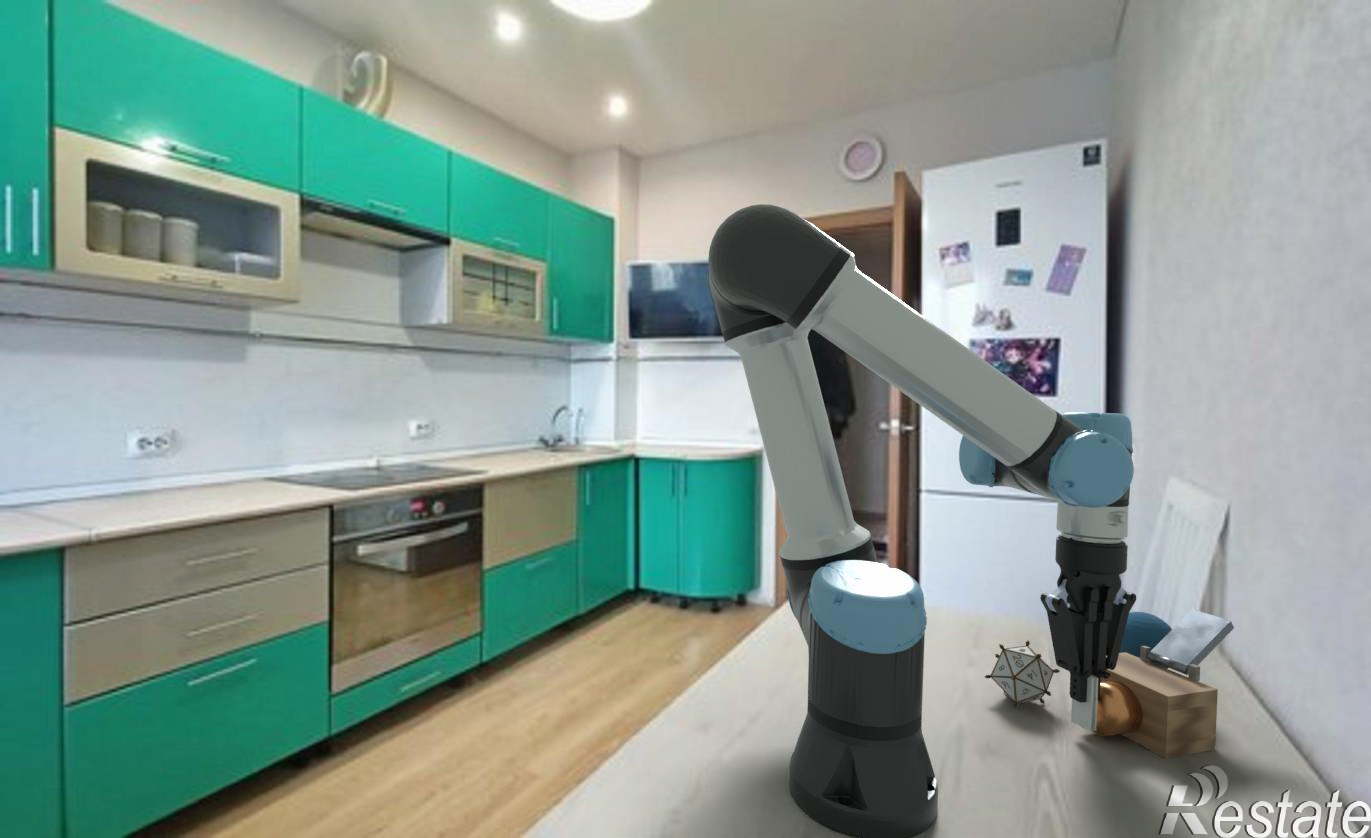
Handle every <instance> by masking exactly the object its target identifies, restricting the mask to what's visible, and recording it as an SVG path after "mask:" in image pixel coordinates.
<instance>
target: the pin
mask: <svg viewBox="0 0 1371 838" xmlns="http://www.w3.org/2000/svg"><path fill="white" fill-rule="evenodd" d="M1142 720H1143V713H1142V708H1141V705H1140V702H1139V700H1138V699H1137V697H1136V695H1135V694H1134V693H1133V692H1132V690H1131V689H1130V688H1128V687H1127V686H1126V685H1124V684H1122V683H1120V682H1117V681H1106V682H1101V683H1100V697H1099V700H1097V720H1096V731H1091V732H1092V733H1094V734H1096V735H1097V736H1101V737H1109V736H1115V735H1122V733H1128V732H1133V731H1136V730H1137V729H1138V728H1139V727H1140V726H1141V724H1142Z"/></svg>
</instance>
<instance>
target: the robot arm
mask: <svg viewBox="0 0 1371 838" xmlns="http://www.w3.org/2000/svg"><path fill="white" fill-rule="evenodd" d="M709 245H710V246H709V249H708V258H707V259H708V269H707V273H706V281H707V282H706V283H707V290H708V294H709V297H710V299H711V300H710V301H711V302H712V304H713V306H714V308H715V310H716V314H717V317H718V321H719V324H720V325H719V326H720V330H721V333H722V336H723V341H724V343H725V346H726V347H727V348H729V349H731V350H732V351H734V352H736V353H737V354H738V355H739V356H740V358H741V363H742V366H743V370H744V374H745V377H746V382H747V385H748V390H749V393H750V397H751V401H752V405H753V409H754V413H755V416H756V420H757V424H758V428H759V431H760V436H761V440H762V443H763V448H764V451H765V454H766V459H767V463H768V467H769V470H770V475H771V477H772V481H773V482H772V483H773V486H774V490H775V493H776V498H777V502H778V505H779V510H780V512H781V516H782V520H783V521H782V522H783V525H784V528H785V532H786V539H785V541H783V543H782V546H781V547H780V549H779V551H778V553H779V557H780V561H781V566H782V569H783V572H784V577H785V580H786V587H787V593H786V595H787V600H788V603H789V607H790V610H791V612H792V613H793V616H794V617H795V619H796V621H797V623H798V625H799V628H800V630H801V632H802V635H803V638H804V640H805V641H806V644H807V647H808V648H807V649H808V666H807V667H808V673H807V675H808V676H807V677H808V678H807V682H808V683H807V708H806V709H807V713H806V716H805V719H804V721H803V724H802V726H801V730H800V732H799V736H798V738H797V740H796V744H795V748H794V750H793V752H792V755H791V757H790V761H789V772H788V776H789V778H788V779H789V780H788V786H789V790H790V794H791V796H792V798H793V799H794V801H795V803H796V804H797V806H799V807H800V809H802V811H804V812H805V813H806V814H808V816H810V817H811V818H812V819H814V820H815V821H817V822H819V823H821V825H822V824H823V825H824V826H826V827H828V828H830V829H833V830H836V831H838V832H839V833H840V832H841V833H844V834H846V835H850V836H854V837H859V838H909V837H913V836H915V835H918V834H920V833H922V832H924V831H925V830H926V829H928V828H929V827H930V826H932V824H933V823H934V822H935V820H936V818H937V815H938V808H939V807H938V803H939V801H938V800H939V799H938V798H939V789H938V787H939V786H938V783H937V778H936V775H935V771H934V768H933V765H932V762H931V759H930V755H929V750H928V748H927V744H926V742H925V737H924V734H923V730H922V722H923V717H922V716H923V712H922V711H923V691H924V665H925V664H924V663H925V662H924V661H925V638H926V637H925V635H926V633H925V632H926V628H927V627H926V626H927V622H928V621H927V618H928V617H927V612H926V611H927V610H926V608H925V597H924V591H923V589H922V587H921V586H920V584H919V582H917V580H916V579H915V578H913V577H912V576H911V575H909V573H906V572H905V571H903V570H901V569H899V568H892V567H890V566H889V565H887V564H884V563H882V562H881V563H880V562H878V559H877V554H876V551H875V546H874V543H873V539H872V536H871V533H870V532H871V531H870V530H868V529H867V528H865V527H864V526H861V525H860V524H859V523H857V522H856V521H855V520H854V515H853V511H852V507H851V503H850V499H849V495H848V492H847V488H846V484H845V481H844V477H843V476H844V475H843V472H842V469H841V464H840V461H839V457H838V452H837V449H836V445H835V440H834V437H833V434H832V429H831V425H830V421H829V417H828V413H827V409H826V406H825V403H824V399H823V395H822V390H821V387H820V383H819V378H818V374H817V370H816V366H815V363H814V359H813V356H812V355H813V354H812V351H811V348H810V343H809V339H808V337H809V333H810V331H811V330H813V331H815V332H816V333H817V334H819V335H821V337H823V338H825V339H826V340H827V341H829V342H831V343H832V344H833V345H834V346H836V347H837V348H839V349H840V350H842V351H843V352H845V354H848V356H850V357H852V358H853V359H854V360H856V361H857V362H859V363H860V364H862V365H863V366H864V367H866V368H867V369H869V370H870V371H871V372H873V373H874V374H876V375H877V376H878V377H880V378H881V379H883V380H884V381H885V382H887V383H888V384H890V385H891V386H892V387H894V388H896V389H897V390H898V391H900V392H901V393H903V394H904V395H905V396H907V397H908V398H909V399H911V400H913V402H915V403H917V404H918V405H919V406H921V407H922V408H924V409H925V410H927V411H929V412H930V413H931V414H933V415H934V417H937V418H938V419H939V420H941V421H942V422H943V423H945V424H947V425H948V426H949V427H951V428H952V429H953V430H955V431H956V432H958V433H959V434H961V435H962V437H961V439H960V444H959V451H958V462H959V468H960V471H961V474H962V476H963V478H964V479H965V481H967V483H969V484H971V485H975V486H985V487H986V486H987V487H989V488H994V487H1004V488H1005V487H1006V488H1012V489H1017V490H1019V491H1023V492H1027V493H1029V494H1030V493H1031V494H1034V495H1038V496H1041V497H1045V498H1048V499H1050V500H1055V501H1057V507H1056V508H1057V511H1056V512H1057V513H1056V530H1057V531H1058V532H1060V533H1061V534H1058V535H1057V536H1056V539H1055V557H1054V558H1055V560H1054V561H1055V563H1056V564H1057V565H1058V567H1059V569H1060V573H1059V577H1058V579H1057V582H1056V586H1057V587H1056V588H1055V589H1054V590H1053V591H1052V592H1051V593H1048V592H1043V593H1041V595H1040V602H1041V603H1042V605H1043V607H1044V608H1045V611H1046V613H1047V614H1046V615H1047V618H1048V624H1049V632H1050V637H1051V642H1052V647H1053V653H1054V654H1053V655H1054V659H1055V664H1056V666H1057V667H1059V668H1061V669H1063V670H1066V671H1068V672H1069V673H1070V676H1069V697H1070V698H1071V711H1070V712H1071V713H1070V717H1071V718H1070V720H1071V722H1072V723H1074V724H1076V725H1077V726H1079V727H1081V728H1082V729H1084V730H1086V731H1088V732H1092V731H1096V720H1097V700H1099V697H1100V683H1101V677H1102V678H1104V679H1108V678H1109V677H1110V673H1108V672H1105V670H1107V669H1110V670H1113V669H1115V667H1116V664H1117V660H1118V656H1119V652H1120V648H1121V644H1122V640H1123V636H1124V632H1125V628H1126V624H1127V619H1128V615H1129V613H1130V612H1131V610H1132V608H1133V607H1134V604H1135V603H1136V601H1137V594H1135V593H1133V592H1130V591H1127V590H1126V589H1125V588H1123V587H1122V579H1121V577H1120V575H1122V574H1124V573H1125V572H1127V569H1128V567H1127V566H1128V550H1129V548H1128V544H1126V542H1125V541H1123V540H1124V539H1125V538H1127V537H1128V536H1129V535H1128V531H1129V530H1128V529H1129V505H1130V492H1131V484H1132V483H1133V482H1132V481H1133V479H1134V471H1135V467H1134V462H1133V458H1132V457H1133V453H1134V448H1133V431H1132V422H1131V420H1130V418H1129V417H1128V416H1127V415H1125V414H1123V413H1119V412H1118V413H1116V412H1115V413H1114V412H1111V413H1110V412H1107V413H1106V412H1079V411H1077V412H1073V411H1072V412H1064V413H1063V414H1061V413H1060V412H1058V411H1057V410H1055V409H1053V408H1052V407H1051V406H1049V405H1047V404H1046V403H1045V402H1043V400H1041V399H1039V398H1038V397H1037V396H1035V395H1034V394H1033V393H1031V392H1030V391H1028V390H1027V389H1025V388H1024V387H1023V386H1021V385H1020V384H1019V383H1017V382H1016V381H1014V380H1013V379H1011V377H1009V376H1008V375H1006V374H1005V373H1003V372H1001V371H1000V370H999V369H998V368H996V367H995V366H993V365H992V364H990V363H989V362H988V361H986V360H985V359H984V358H982V357H981V356H979V355H978V354H977V353H975V352H973V351H972V350H971V349H969V348H968V347H966V346H965V345H964V344H963V343H961V342H960V341H959V340H957V339H956V338H954V337H953V336H951V335H950V334H949V333H947V332H946V331H945V330H943V329H941V328H940V327H938V326H937V325H936V324H935V323H934V322H932V321H930V320H929V319H927V318H926V317H925V316H924V315H922V314H920V312H918V311H917V310H915V309H913V308H912V307H911V306H909V305H908V304H906V303H905V302H904V301H902V300H901V299H899V298H898V297H897V296H895V295H894V294H893V293H891V292H890V291H888V290H887V289H886V288H884V287H883V286H881V285H880V284H879V283H877V282H876V281H874V280H873V279H872V278H871V277H869V276H867V275H866V274H864V273H862V271H861V270H859V269H858V266H857V263H856V259H855V257H856V256H855V254H854V253H853V252H852V251H851V250H849V249H847V248H846V247H845V246H843V245H842V244H841V243H839V242H837V241H836V240H835V239H834V238H832V237H831V236H830V235H828V234H827V233H826V232H824V231H822V229H819V228H818V227H816V226H815V225H814V224H813V223H811V222H810V221H808V220H806V219H805V218H803V217H802V216H800V215H798V214H797V213H795V212H793V211H791V210H789V209H787V208H784V207H782V206H777V205H774V204H754V205H749V206H746V207H743V208H741V209H738V210H736V211H734V212H733V213H732V214H730V215H729V216H728V217H726V218H725V219H724V221H723V222H722V223H721V224H720V225H719V226H718V228H717V229H716V231H715V232H714V235H713V237H712V239H711V242H710V244H709ZM1106 656H1107V657H1106Z"/></svg>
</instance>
